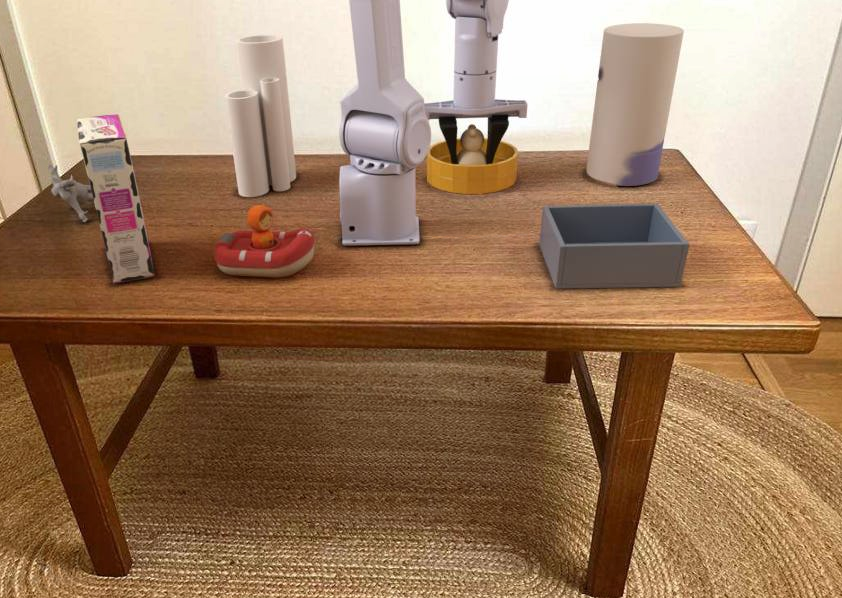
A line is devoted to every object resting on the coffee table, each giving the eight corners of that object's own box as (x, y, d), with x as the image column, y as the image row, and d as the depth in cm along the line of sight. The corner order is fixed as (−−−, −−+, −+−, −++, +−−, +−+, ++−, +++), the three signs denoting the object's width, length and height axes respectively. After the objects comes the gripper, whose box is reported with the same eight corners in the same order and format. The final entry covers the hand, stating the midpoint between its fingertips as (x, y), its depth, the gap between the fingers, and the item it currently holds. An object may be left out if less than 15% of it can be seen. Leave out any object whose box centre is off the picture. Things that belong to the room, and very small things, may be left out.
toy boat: (308, 283, 81) (302, 220, 77) (209, 279, 83) (198, 218, 79) (322, 254, 88) (317, 194, 84) (230, 251, 89) (221, 192, 85)
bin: (555, 288, 78) (560, 246, 75) (539, 244, 88) (542, 205, 85) (680, 286, 77) (689, 244, 75) (650, 242, 87) (657, 203, 84)
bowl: (428, 198, 102) (428, 167, 99) (425, 167, 113) (425, 138, 110) (521, 196, 101) (524, 165, 98) (510, 165, 112) (511, 136, 109)
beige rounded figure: (456, 183, 105) (457, 132, 101) (454, 173, 108) (455, 122, 104) (488, 183, 104) (490, 131, 100) (485, 172, 108) (487, 121, 104)
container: (593, 161, 112) (611, 20, 101) (661, 168, 108) (688, 23, 97) (579, 182, 105) (597, 33, 94) (652, 190, 101) (679, 36, 90)
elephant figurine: (133, 207, 104) (83, 207, 96) (111, 234, 106) (60, 236, 98) (96, 153, 105) (44, 149, 97) (75, 181, 108) (23, 179, 100)
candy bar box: (158, 277, 84) (127, 136, 75) (113, 285, 83) (77, 143, 74) (147, 240, 93) (119, 111, 84) (107, 247, 92) (74, 117, 83)
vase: (261, 170, 115) (244, 34, 104) (304, 172, 113) (292, 34, 102) (233, 196, 105) (211, 50, 95) (279, 198, 104) (263, 50, 93)
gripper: (525, 62, 101) (518, 157, 109) (421, 65, 102) (421, 160, 109) (532, 73, 95) (524, 173, 103) (422, 77, 96) (422, 176, 103)
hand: (471, 168), depth 106 cm, fingers closed on beige rounded figure, 4 cm apart
